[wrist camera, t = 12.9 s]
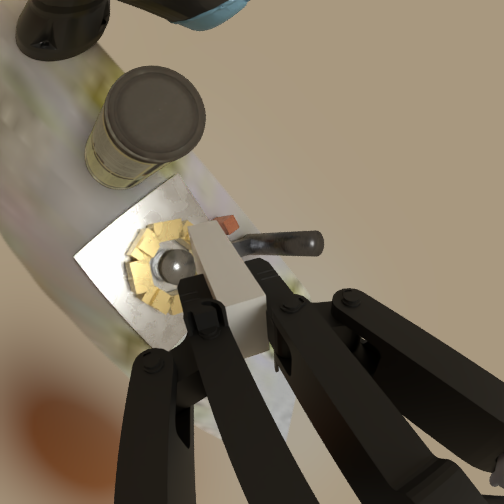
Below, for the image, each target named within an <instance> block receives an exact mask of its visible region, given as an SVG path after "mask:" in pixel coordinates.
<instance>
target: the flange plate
mask: <svg viewBox="0 0 504 504" xmlns="http://www.w3.org/2000/svg"><path fill="white" fill-rule="evenodd" d="M180 218H181V221H185V220H188V221H189V222H191V223H192V224H193V225H195V224H200V223H204V222H208V221H209V220H208V218H207V216H206V215H205V213H204V212H203V210H202V209H201V207H200V206H199V204H198V203H197V201H196V200H195V198H194V196H193V195H192V193H191V192H190V190H189V189H188V187H187V186H186V184H185V182H184V181H183V179H182V178H181V176H180V175H179V173H177V174H176V175H174V176H172V177H171V178H169V179H168V180H167V181H165V182H164V183H163V184H161V185H160V186H158V187H157V188H156V189H154V190H153V191H152V192H150V193H149V194H148V195H146V196H145V197H144V198H142V199H141V200H140V201H138V202H137V203H136V204H135V205H133V206H132V207H131V208H129V209H128V210H127V211H126V212H124V213H123V214H122V215H121V216H119V217H118V218H117V219H116V220H114V221H113V222H112V223H111V224H110V225H108V226H107V227H106V228H105V229H104V230H102V231H101V232H100V233H99V234H98V235H97V236H95V237H94V238H93V239H92V240H91V241H90V242H88V243H87V244H86V245H85V246H84V247H83V248H82V249H81V250H79V251H78V252H77V253H76V254H75V255H74V256H73V258H74V259H75V260H76V262H77V263H78V264H79V265H80V267H81V268H82V269H83V271H84V272H85V273H86V274H87V276H88V277H89V278H90V279H91V281H92V282H93V283H94V284H95V286H96V287H97V288H98V289H99V290H100V292H101V293H102V294H103V295H104V296H105V297H106V299H107V300H108V301H109V302H110V303H111V304H112V306H113V307H114V308H115V309H116V310H117V311H118V312H119V313H120V315H121V316H122V317H123V318H124V319H125V320H126V321H127V322H128V323H129V324H130V325H131V327H132V328H133V329H134V330H135V331H136V332H137V333H138V334H139V335H140V336H141V337H142V338H143V339H144V340H145V341H146V342H147V343H148V344H149V345H150V346H151V347H152V348H162V349H164V350H167V351H170V350H171V349H172V348H173V347H174V345H175V344H176V343H177V342H178V341H179V340H180V339H181V338H182V337H183V336H184V335H185V334H186V333H187V329H186V326H185V323H184V319H183V312H182V313H179V314H176V315H171V314H169V313H167V315H165V314H164V313H162V312H160V311H158V310H156V309H154V308H153V307H151V306H149V305H147V304H146V303H144V302H142V301H141V300H139V299H137V298H136V296H137V294H135V293H133V292H131V288H130V284H129V280H128V276H127V271H126V267H125V262H127V261H131V260H133V259H131V258H130V257H128V256H127V255H126V253H127V252H128V250H129V248H130V247H131V245H132V243H133V242H134V240H135V238H136V237H137V235H138V233H139V232H140V230H141V229H144V228H147V225H149V224H154V223H159V222H164V221H169V220H174V219H180ZM213 220H217V222H218V223H219V225H220V226H221V228H222V230H223V231H224V233H225V234H226V235H230V234H231V233H233V232H234V231H235V230H236V229H238V228H239V225H238V223H237V221H236V219H235V217H234V216H233V215H229V216H223V217H216V218H215V219H213ZM159 246H160V247H159V249H158V251H157V253H156V254H155V256H154V258H151V260H150V262H149V264H150V269H151V274H152V278H153V283H154V285H155V286H156V287H158V288H159V289H161V290H163V291H164V292H166V293H168V292H171V291H174V290H178V289H177V286H178V284H179V281H180V279H183V278H187V277H191V276H194V275H195V272H196V267H195V262H194V257H193V256H192V254H191V253H189V250H188V249H187V248H185V247H184V246H182V245H181V244H180V243H178V242H177V241H176V240H169V241H165V242H161V243H160V244H159Z"/></svg>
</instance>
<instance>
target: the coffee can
mask: <svg viewBox="0 0 504 504" xmlns="http://www.w3.org/2000/svg"><path fill="white" fill-rule="evenodd" d="M205 121H206V114H205V108H204V104H203V102H202V99H201V97H200V95H199V93H198V91H197V90H196V88H195V87H194V86H193V84H192V83H191V82H190V81H189V80H188V79H186V78H185V77H184V76H182V75H181V74H179V73H177V72H176V71H173V70H171V69H168V68H165V67H160V66H143V67H138V68H135V69H132V70H131V71H129V72H127V73H125V74H123V75H122V76H121V77H120V78H118V79H117V80H116V82H115V83H114V84H113V85H112V87H111V89H110V90H109V92H108V95H107V97H106V100H105V103H104V105H103V107H102V109H101V112H100V114H99V116H98V118H97V120H96V123H95V125H94V127H93V130H92V132H91V134H90V136H89V138H88V140H87V143H86V147H85V161H86V165H87V168H88V170H89V172H90V173H91V175H92V176H93V178H94V179H95V180H96V181H98V182H99V183H100V184H102V185H104V186H106V187H108V188H112V189H119V190H122V189H128V188H132V187H134V186H136V185H138V184H140V183H141V182H142V181H143V180H145V179H146V178H147V177H149V176H150V175H152V174H153V173H155V172H156V171H158V170H159V169H161V168H163V167H164V166H166V165H167V164H169V163H170V162H172V161H175V160H177V159H179V158H181V157H183V156H185V155H186V154H188V153H189V152H190V151H191V150H192V149H193V148H194V147H195V146H196V145H197V144H198V142H199V141H200V139H201V137H202V135H203V132H204V128H205Z"/></svg>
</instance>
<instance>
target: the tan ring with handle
mask: <svg viewBox="0 0 504 504" xmlns="http://www.w3.org/2000/svg"><path fill="white" fill-rule="evenodd" d="M191 225H193V224H192V223H191V222H189V221H188V220H185V221H181V218H180V219H174V220H169V221H164V222H159V223H154V224H149V225H147V228H144V229H141V230H140V232H139V233H138V235H137V237H136V238H135V240H134V242H133V243H132V245H131V247H130V248H129V250H128V252H127V253H126V255H127V256H128V257H130V258H131V259H133V260H131V261H127V262H125V267H126V271H127V276H128V280H129V284H130V288H131V292H133V293H135V294H137V296H136V298H137V299H139V300H141V301H142V302H144V303H146V304H147V305H149V306H151V307H153V308H154V309H156V310H158V311H160V312H162V313H164V314H165V315H167V313H169V314H171V315H176V314H179V313H182V312H183V310H182V306H181V302H180V298H179V294H178V290H174V291H171V292H168V293H166V292H164V291H163V290H161V289H159V288H158V287H156V286H155V285H154V283H153V278H152V274H151V269H150V264H149V262H150V260H151V258H154V256H155V254H156V253H157V251H158V249H159V247H160V246H159V244H160V243H161V242H165V241H169V240H176V241H177V242H178V243H180V244H181V245H182V246H184V247H185V248H187V249H188V250H189V253H191V254H192V256H193V253H192V248H191V243H190V238H189V233H188V228H187V226H191ZM231 243H232V245H233V246H234V248H235V249H236V251H237V252H238V254H239V255H240V257H242V256H246V255H282V256H319V255H320V254H321V253H322V251H323V248H324V239H323V236H322V234H321V233H320V232H319V231H298V232H279V233H261V234H247V235H245V236H244V237H243V239H240V240H236V241H232V242H231ZM195 275H198V274H197V271H196V272H195ZM195 275H194V276H195Z"/></svg>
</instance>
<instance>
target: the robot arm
mask: <svg viewBox="0 0 504 504" xmlns="http://www.w3.org/2000/svg"><path fill="white" fill-rule="evenodd" d="M118 1H121V2H123V3H126V4H129V5H132V6H135V7H137V8H140V9H143V10H145V11H148V12H150V13H152V14H155V15H157V16H160V17H162V18H165V19H167V20H168V21H169V22H171V23H174V24H179V25H182V26H184V27H187V28H189V29H191V30H196V31H205V30H209V29H212V28H214V27H216V26H218V25H220V24H222V23H224V22H225V21H226V20H228V19H230V18H231V17H233V16H234V15H235V14H237V13H238V12H239V11H240V10H242V9H243V8H244V7H245V6H246V4H247V2H248V1H250V0H118ZM109 16H110V0H28V2H27V3H26V5H25V7H24V9H23V11H22V13H21V15H20V17H19V19H18V22H17V26H16V42H17V45H18V47H19V48H20V50H21V51H22V52H23V53H24V54H26V55H27V56H29V57H31V58H34V59H38V60H45V61H53V60H61V59H66V58H70V57H73V56H75V55H78V54H80V53H82V52H84V51H85V50H87V49H89V48H90V47H91V46H93V45H94V44H95V43H96V42H97V41H98V40H99V39H100V37H101V36H102V34H103V32H104V30H105V28H106V26H107V24H108V21H109ZM187 228H188V233H189V238H190V243H191V248H192V253H193V257H194V262H195V267H196V271H197V274H198V275H195V276H191V277H187V278H183V279H180V281H179V284H178V286H177V289H178V294H179V298H180V302H181V306H182V310H183V319H184V323H185V326H186V329H187V336H186V337H185V339H184V341H183V342H182V343H181V344H180V345H178V346H177V347H175V348H174V349H172V350H170V351H167V350H164V349H162V348H152V349H147V350H146V351H144V352H142V353H140V354H139V355H138V356H137V357H136V359H135V361H134V363H133V367H132V372H131V377H130V382H129V387H128V394H127V398H126V404H125V411H124V417H123V423H122V430H121V438H120V445H119V453H118V462H117V472H116V483H115V496H114V504H196V493H195V470H194V404H195V403H197V402H199V401H200V400H202V399H203V398H205V397H208V400H209V403H210V406H211V409H212V412H213V415H214V418H215V420H216V423H217V426H218V429H219V432H220V434H221V437H222V440H223V442H224V445H225V448H226V450H227V453H228V456H229V458H230V461H231V463H232V466H233V468H234V471H235V473H236V475H237V478H238V480H239V482H240V485H241V487H242V490H243V492H244V494H245V496H246V499H247V501H248V503H249V504H319V502H318V500H317V498H316V497H315V495H314V493H313V492H312V490H311V488H310V486H309V485H308V483H307V481H306V479H305V478H304V476H303V474H302V472H301V470H300V468H299V467H298V465H297V463H296V461H295V459H294V457H293V456H292V454H291V452H290V450H289V448H288V446H287V444H286V442H285V440H284V439H283V437H282V435H281V433H280V431H279V429H278V427H277V425H276V423H275V421H274V419H273V417H272V415H271V413H270V411H269V409H268V407H267V405H266V403H265V401H264V399H263V397H262V395H261V393H260V391H259V389H258V387H257V385H256V383H255V381H254V379H253V377H252V375H251V373H250V370H249V368H248V366H247V364H246V362H245V360H244V358H247V357H250V356H253V355H256V354H259V353H262V352H265V351H268V350H269V342H270V344H271V345H272V347H273V349H274V364H275V371H276V372H278V371H279V368H280V369H281V371H282V373H283V375H284V376H285V378H286V380H287V382H288V383H289V385H290V387H291V389H292V390H293V392H294V394H295V396H296V397H297V399H298V401H299V402H300V404H301V406H302V408H303V409H304V411H305V412H306V414H307V416H308V418H309V419H310V421H311V422H312V424H313V426H314V428H315V429H316V431H317V433H318V434H319V436H320V438H321V439H322V441H323V443H324V444H325V446H326V448H327V449H328V451H329V453H330V454H331V456H332V457H333V459H334V461H335V462H336V464H337V465H338V467H339V469H340V470H341V472H342V474H343V475H344V477H345V478H346V480H347V482H348V483H349V485H350V486H351V488H352V489H353V491H354V493H355V494H356V496H357V497H358V499H359V500H360V502H361V504H504V496H493V495H481V494H480V492H479V491H478V490H477V488H476V487H475V486H474V484H473V483H472V482H471V481H470V479H469V478H468V477H467V476H466V474H465V473H464V472H463V471H462V469H461V468H460V467H459V466H458V465H457V464H456V463H454V462H453V461H451V460H449V459H441V458H437V457H436V456H435V455H433V454H432V452H431V451H430V450H429V448H428V447H427V446H426V445H425V444H424V442H423V441H422V440H421V438H420V437H419V436H418V435H417V433H416V432H415V431H414V430H413V428H412V427H411V426H410V425H409V423H408V422H407V421H406V419H405V418H404V417H403V416H405V417H406V418H407V419H408V420H410V421H411V422H412V423H414V424H415V425H416V426H418V427H419V428H420V429H422V430H423V431H424V432H425V433H427V434H428V435H430V436H431V437H432V438H433V439H435V440H436V441H437V442H439V443H440V444H442V445H443V446H444V447H446V448H447V449H448V450H450V451H451V452H452V453H454V454H455V455H456V456H458V457H459V458H461V459H462V460H464V461H465V462H467V463H468V464H470V465H471V466H473V467H476V468H478V469H480V470H483V471H486V472H491V473H492V474H491V476H490V484H491V485H492V486H494V487H496V486H498V485H499V486H500V487H502V488H504V382H502V381H501V380H499V379H498V378H496V377H495V376H493V375H492V374H490V373H489V372H488V371H486V370H484V369H483V368H481V367H480V366H478V365H477V364H475V363H474V362H472V361H471V360H469V359H468V358H466V357H465V356H463V355H462V354H460V353H459V352H457V351H456V350H454V349H452V348H451V347H449V346H448V345H446V344H445V343H443V342H442V341H440V340H439V339H437V338H435V337H434V336H432V335H431V334H429V333H428V332H426V331H424V330H423V329H421V328H420V327H418V326H417V325H415V324H413V323H412V322H410V321H408V320H407V319H405V318H404V317H402V316H400V315H399V314H398V313H396V312H394V311H393V310H391V309H389V308H388V307H386V306H385V305H383V304H381V303H380V302H378V301H377V300H375V299H373V298H372V297H370V296H368V295H367V294H365V293H364V292H362V291H359V290H357V289H351V288H347V289H342V290H339V291H337V292H336V293H335V294H334V295H333V299H332V301H330V302H320V303H312V302H310V301H309V300H308V299H306V298H305V297H304V296H301V295H298V294H293V292H292V291H291V290H290V289H289V287H288V286H287V285H286V283H285V282H284V281H283V280H282V278H281V277H280V276H278V273H277V272H276V271H275V270H274V268H273V267H272V266H271V265H270V263H269V262H267V261H265V260H263V259H261V258H256V259H253V260H249V261H245V262H244V261H243V260H242V258H241V257H240V255H239V254H238V252H237V251H236V249H235V248H234V246H233V245H232V243H231V242H230V240H229V239H228V237H227V236H226V234H225V233H224V231H223V230H222V228H221V226H220V225H219V223H218V222H217V220H212V221H208V222H204V223H200V224H195V225H191V226H187ZM361 337H362V338H364V339H365V340H364V339H362V338H361ZM278 366H279V367H278ZM402 415H403V416H402Z"/></svg>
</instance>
